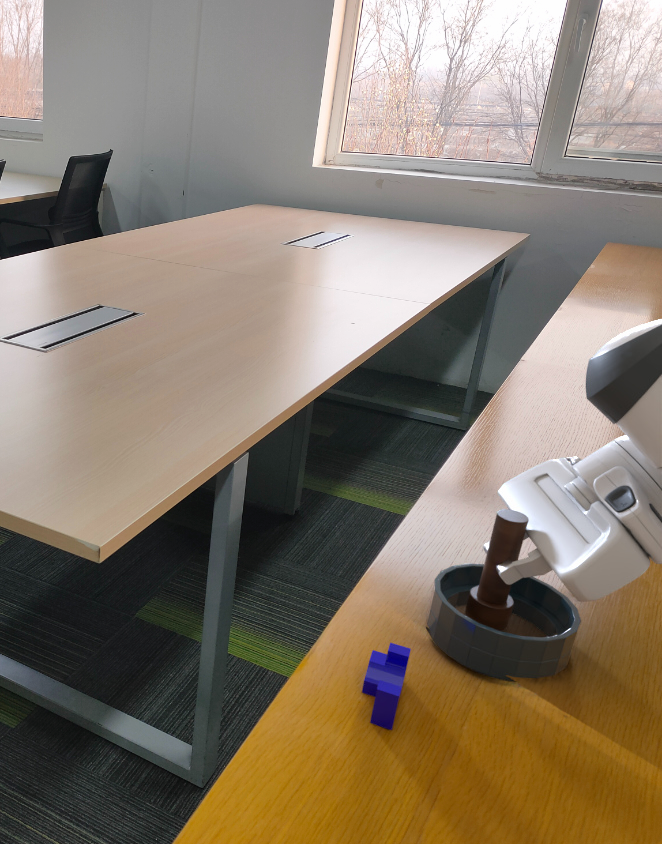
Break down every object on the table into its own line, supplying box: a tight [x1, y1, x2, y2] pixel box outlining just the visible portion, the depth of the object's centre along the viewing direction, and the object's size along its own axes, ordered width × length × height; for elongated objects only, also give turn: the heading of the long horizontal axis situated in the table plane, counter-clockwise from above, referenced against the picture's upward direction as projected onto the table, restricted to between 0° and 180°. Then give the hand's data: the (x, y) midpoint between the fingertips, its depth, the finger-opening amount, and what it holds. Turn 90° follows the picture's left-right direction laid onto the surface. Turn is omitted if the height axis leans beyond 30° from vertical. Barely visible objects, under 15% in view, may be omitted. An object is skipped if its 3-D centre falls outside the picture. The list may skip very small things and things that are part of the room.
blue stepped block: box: [361, 642, 412, 731], centre depth 79 cm, size 8×4×4 cm, turn 153°
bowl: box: [425, 562, 582, 683], centre depth 87 cm, size 14×14×6 cm
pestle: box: [464, 508, 529, 632], centre depth 86 cm, size 4×4×13 cm
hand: (494, 565), depth 86 cm, fingers closed on pestle, 3 cm apart
